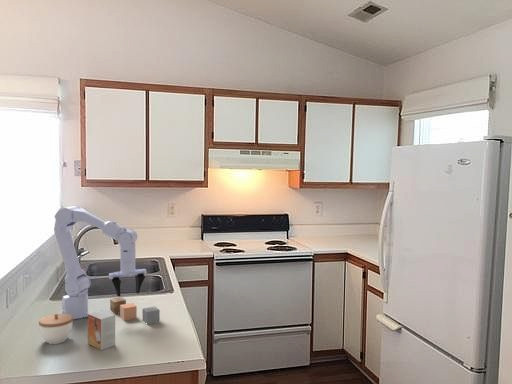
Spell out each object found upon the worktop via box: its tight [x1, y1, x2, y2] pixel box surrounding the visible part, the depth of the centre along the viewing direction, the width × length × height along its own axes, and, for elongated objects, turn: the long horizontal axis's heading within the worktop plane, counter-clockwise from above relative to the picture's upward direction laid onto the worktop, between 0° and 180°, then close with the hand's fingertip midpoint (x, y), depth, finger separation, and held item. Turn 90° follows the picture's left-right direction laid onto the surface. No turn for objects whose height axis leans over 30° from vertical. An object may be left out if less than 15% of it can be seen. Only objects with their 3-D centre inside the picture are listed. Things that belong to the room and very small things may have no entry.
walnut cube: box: [109, 296, 127, 314], centre depth 181 cm, size 5×5×5 cm
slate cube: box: [142, 306, 161, 325], centre depth 169 cm, size 5×5×5 cm
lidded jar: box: [38, 313, 74, 345], centre depth 150 cm, size 11×11×9 cm
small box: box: [87, 309, 116, 351], centre depth 147 cm, size 8×6×10 cm
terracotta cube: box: [119, 302, 138, 321], centre depth 173 cm, size 5×5×5 cm
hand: (128, 294), depth 173 cm, fingers open, 7 cm apart
